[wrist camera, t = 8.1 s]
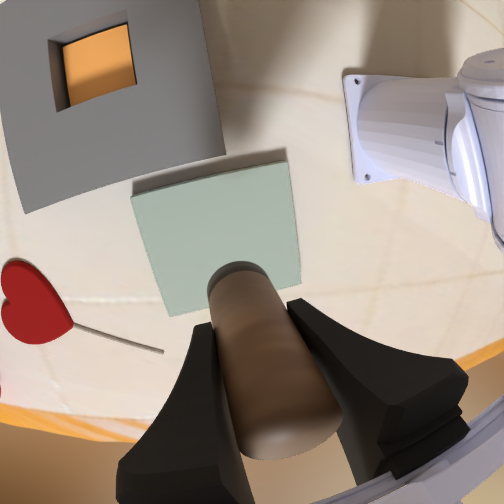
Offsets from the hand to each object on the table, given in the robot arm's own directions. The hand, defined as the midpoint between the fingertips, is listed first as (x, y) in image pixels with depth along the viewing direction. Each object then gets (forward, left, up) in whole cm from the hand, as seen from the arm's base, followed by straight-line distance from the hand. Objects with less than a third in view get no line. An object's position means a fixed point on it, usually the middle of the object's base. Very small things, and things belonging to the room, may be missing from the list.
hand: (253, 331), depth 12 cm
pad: (0, 0, -10) cm, 10 cm away
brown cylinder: (0, 0, -3) cm, 3 cm away
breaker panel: (+5, -13, -10) cm, 17 cm away
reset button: (+5, -13, -9) cm, 17 cm away
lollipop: (+13, +4, -11) cm, 17 cm away
